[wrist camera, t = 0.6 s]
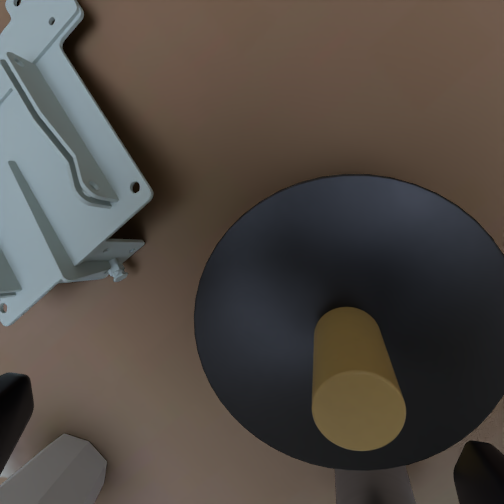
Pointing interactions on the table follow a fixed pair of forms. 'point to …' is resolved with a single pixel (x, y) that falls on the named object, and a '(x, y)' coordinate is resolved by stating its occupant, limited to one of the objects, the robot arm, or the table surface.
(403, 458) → the black disc with peg
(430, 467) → the table surface
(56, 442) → the faceted bottle
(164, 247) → the table surface
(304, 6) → the table surface
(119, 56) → the table surface
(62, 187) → the metal bracket
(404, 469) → the socket
